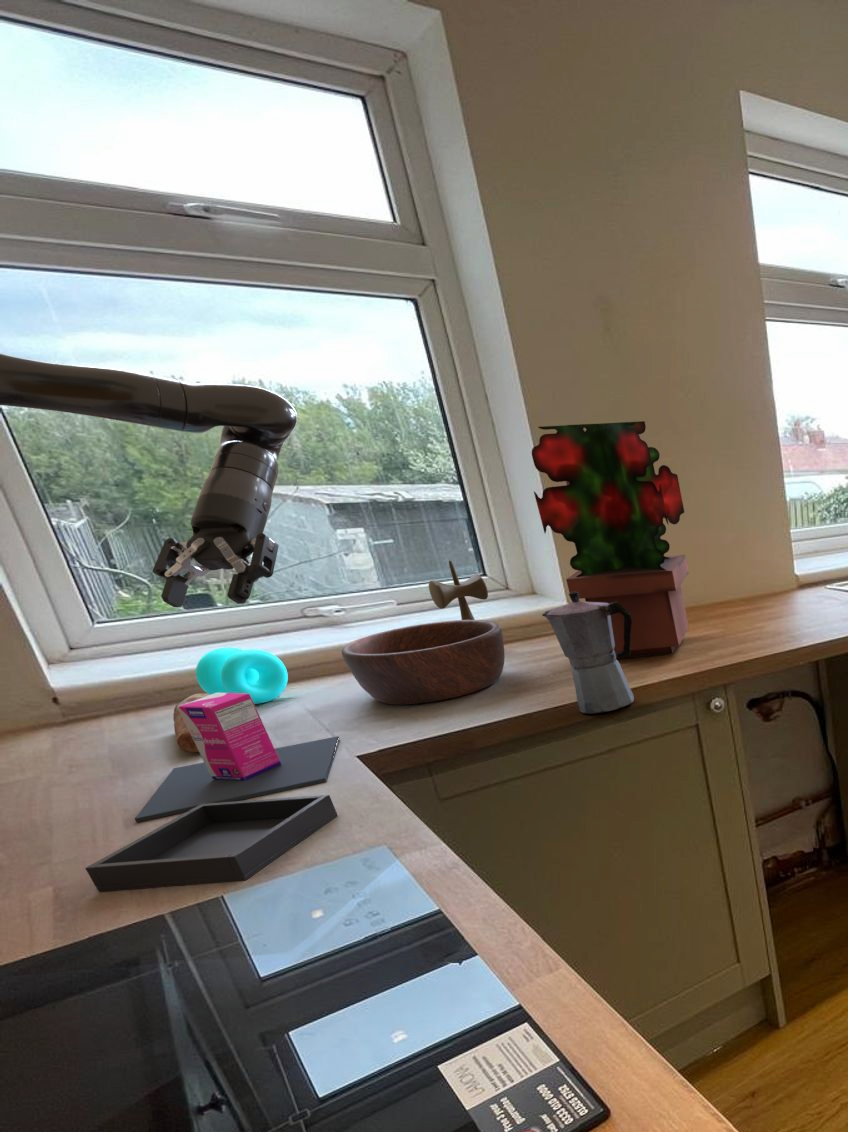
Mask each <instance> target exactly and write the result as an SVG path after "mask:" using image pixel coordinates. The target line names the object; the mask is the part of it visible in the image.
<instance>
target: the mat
mask: <svg viewBox="0 0 848 1132" xmlns="http://www.w3.org/2000/svg"><path fill="white" fill-rule="evenodd" d="M338 738H339V739H340V737H339V736H332V737H327V738H326V737H325V738H321V739H316V740H311V741H307V742H301V743H296V744H290V745H286V746H280V747H274V749H275V751H276V753H277V756H278V758H279V760H280V762H281V764H282V765H280V766H278V767H275V768H273V769H270V770H268V771H266V772H263V773H261V774H259V775H257V776H254V777H252V778H250V779H247V780H233V779H213V778H212V777H211V775H210V773H209V771H208V769H207V767H206V765H205V763H204V761H203V762H199V763H194V764H188V765H182V766H178V767H174V768H172V770H171V771H170V772H169V774H168V775H167V776H166V777H165V779H164V780H163V782H162V783H161V784H160V785H159V787H158V788H157V789H156V791H155V792H154V793H153V794H152V796H151V797H150V798H149V800H148V801H146V804H145V805H144V806H143V807H142V808H141V809H140V811H139V812H138V813H137V815H136V816H135V818H134V821H135V822H136V823H141V822H146V821H150V820H155V819H159V818H164V817H169V816H174V815H178V814H184V813H186V812H188V811H189V810H191V809H193V808H195V807H197V806H198V805H200V804H205V803H220V802H234V801H245V800H249V799H253V798H256V797H262V796H266V795H272V794H275V793H280V792H284V791H289V790H294V789H299V788H303V787H308V786H309V787H310V786H313V785H318V784H322V783H326V782H327V780H328V777H329V774H330V770H331V768H332V765H333V762H332V761H334V759H333V756H334V757H335V755H334V752H335V747H336V743H337V740H338ZM335 753H336V752H335Z"/></svg>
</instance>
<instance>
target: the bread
mask: <svg viewBox="0 0 848 1132" xmlns="http://www.w3.org/2000/svg"><path fill="white" fill-rule="evenodd" d="M209 695H210V694H208V693H195V694H191V695H190V696H188V697H186V698H184V699H183V700H182V701H181V702H179V703H178V704H176V705H175V707H174V709H173V719H172V720H173V727H174V729H173V730H174V735H175V739H176V744H177V746H178V747H179V748H180V749H181V750H183V751H185V752H188V753H200V752H199V750H198V748H197V746H196V744H195V742H194V740H193V738H192V736H191V734H190V732H189V730H188V728H187V726H186V724H185V722H184V720H183V718H182V716H181V714H180V711H179V710H178V708H177V707H178V706H180V705H183V704H186V703H189V702H192V701H195V700H198V699H201V698H203V697H206V696H209Z"/></svg>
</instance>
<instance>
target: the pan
mask: <svg viewBox="0 0 848 1132" xmlns="http://www.w3.org/2000/svg"><path fill="white" fill-rule="evenodd" d="M338 815H339V814H338V812H337V810H336V808H335V805H334V803H333V800H332V798H331V795H330V794H319V795H306V796H305V795H304V796H292V797H291V796H290V797H277V798H263V799H250V800H249V799H247V800H239V801H234V802H220V803H205V804H200V805H198V806H197V807H195V808H193V809H191V810H189V811H188V812H183V813H181V814H180V815H178V816H176V817H175V818H172V819H171V820H169V821H168V822H165V823H164V824H162V825H161V826H159V827H157V828H155V829H153V830H151V831H150V832H148V833H145V834H144V835H142V836H140V837H138V838H137V839H135V840H134V841H131V842H130V843H127V844H126V845H124V846H123V847H121V848H119V849H116V850H115V851H113V852H111V853H110V854H108V855H106V856H104V857H103V858H101V859H99V860H97V861H95V862H94V863H92V864H90V865H88V866H86V867H85V868H84V869H85V871H86V872H87V874H88V876H89V877H90V879H91V881H92V883H93V885H94V886H95V888H96V890H97V892H98V893H101V892H113V891H125V890H137V889H138V890H139V889H152V888H153V889H154V888H163V887H166V888H167V887H177V886H190V885H191V886H192V885H202V884H203V885H204V884H216V883H228V882H240V881H241V882H242V881H247V880H248V879H250V878H251V877H252V876H254V875H256V873H258V872H259V871H261V870H263V869H264V868H265V867H267V866H268V865H270V864H271V863H273V862H274V861H275V860H277V859H278V858H280V857H282V856H283V855H284V854H286V853H287V852H289V851H290V850H291V849H293V848H294V847H295V846H297V845H299V843H301V842H302V841H304V840H305V839H307V838H308V837H309V836H311V835H313V834H314V833H315V832H317V831H318V830H320V829H321V828H322V827H324V826H326V825H328V823H330V822H331V821H333V820H335V818H337V817H338Z"/></svg>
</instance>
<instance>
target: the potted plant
mask: <svg viewBox="0 0 848 1132" xmlns="http://www.w3.org/2000/svg"><path fill="white" fill-rule="evenodd" d="M537 428H538V429H540V430H545V431H547V430H555V431H556V432H554V433H544V434H542V435H540V436H539V441H538V442H539V443H538V444H537V445H534V447H532V448H531V458H532V461H533V465H534V467H535V469H536V470H537V471H538V472H539V473H543V474H546V475H547V477H548V478H549V480H551V481H552V482H555V483H563V482H565V483H566V484H565V485H557V486H548V487H545V488H544V489H543V491H542V496H541V498H540V497H539V495H538V494H537V492H536V491H533V494H534V498H535V503H536V506H537V508H538V513H539V517H540V521H541V525H542V529H543V532H544V534H546V533H547V527H550V529H551V531H552V532H553V533H554V534H559V535H562V537H563V538H564V540H565V541H566V542H569V543H574V547H575V550H576V554H575V555H573V556H572V557H570V560H569V565H570V567H571V568H572V570H574V571H576V572H574V573H573V574H571V575H570V576H569V577H568V578H565V580H566V584H567V589H568V594H569V593H571V592H579V600H581V599H582V600H583V599H584V600H585V602H602V603H608V604H611V603H613V602H618V604H620V605H621V607H623V608H625V609H626V610H627V612H629V613H630V614H631V620H632V626H631V627H632V629H631V641H630V644H631V646H630V656H627V657H623V658H622V659H628V658H638V657H639V658H640V657H649V656H659V655H669V654H673V653H674V651H675V650H676V648H677V647H679V646H680V645H681V643H682V641H683V639H684V638H685V636H686V634H687V632H688V630H689V628H690V625H689V619H688V616H687V610H686V606H685V600H684V595H683V590H682V586H681V585H682V583H683V582H684V580H685V579H686V578H687V576H688V575H689V574H690V571H689V565H688V561H687V556H686V554H680V555H666V556H665V554H666V553H668V552H669V551H670V549H671V548H670V542H669V541H668V540H666V539H662V537H663V536H664V535H665V534H666V532H667V526H666V525H665V523H664V519H665V522H666V524H667V525H668V526H669V525H677V524H679V522H680V521H681V520H680V519H681V518H680V517H681V515H683V514H684V513H685V508H684V502H683V498H682V492H681V487H680V482H679V476H678V474H676V473H675V472H674V473H673V472H672V470H671V468H670V467H669V466H668V465H665V464H662V465H661V466H659V468H658V473H656V471H655V465H654V464H655V463H656V462H658V461H659V460H660V457H661V456H660V455H661V454H660V452H659V450H658V449H657V448H656V447H653V446H649V445H648V443H647V442H646V441H645V440H643V439H642V438H641V437H640V435H642V434H644V433H645V432H646V422H645V421H644V420H643V421H622V422H621V421H620V422H604V423H581V424H567V425H566V424H563V425H546V426H544V425H543V426H537ZM584 429H586V430H584ZM610 616H611V623H612V629H613V635H614V642H615V647H614V651H615V654H616V653H617V652H623V651H624V650H623V647H624V643H625V642H624V616H623V615H622V614H621V613H616V614H614V615H610ZM617 659H618V660H619V659H620V658H618V657H616V660H617Z"/></svg>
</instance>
